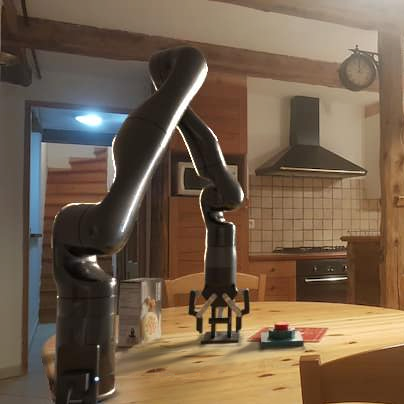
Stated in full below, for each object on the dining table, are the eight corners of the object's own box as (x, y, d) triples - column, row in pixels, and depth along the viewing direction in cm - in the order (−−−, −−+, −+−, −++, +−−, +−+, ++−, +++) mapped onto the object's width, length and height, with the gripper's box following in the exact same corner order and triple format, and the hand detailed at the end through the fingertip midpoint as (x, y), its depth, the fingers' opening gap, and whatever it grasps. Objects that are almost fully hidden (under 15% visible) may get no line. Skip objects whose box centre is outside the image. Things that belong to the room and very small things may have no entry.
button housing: (303, 349, 125) (303, 332, 125) (261, 351, 123) (261, 334, 123) (299, 339, 137) (299, 324, 137) (260, 340, 135) (261, 325, 135)
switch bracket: (238, 345, 129) (239, 297, 130) (200, 347, 127) (201, 298, 128) (240, 336, 141) (240, 292, 141) (205, 337, 139) (206, 292, 140)
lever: (229, 326, 125) (229, 317, 124) (208, 327, 124) (208, 317, 124) (232, 303, 137) (232, 295, 136) (212, 304, 136) (212, 295, 135)
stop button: (289, 331, 129) (289, 324, 129) (274, 332, 128) (274, 324, 128) (288, 328, 132) (288, 321, 132) (274, 329, 132) (274, 322, 132)
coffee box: (139, 338, 136) (141, 277, 137) (161, 340, 135) (163, 277, 136) (116, 346, 127) (118, 280, 128) (140, 347, 126) (141, 281, 127)
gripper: (187, 266, 121) (186, 336, 120) (250, 265, 124) (249, 334, 123) (191, 264, 128) (190, 330, 127) (250, 263, 131) (249, 328, 130)
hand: (219, 332), depth 125 cm, fingers open, 8 cm apart
